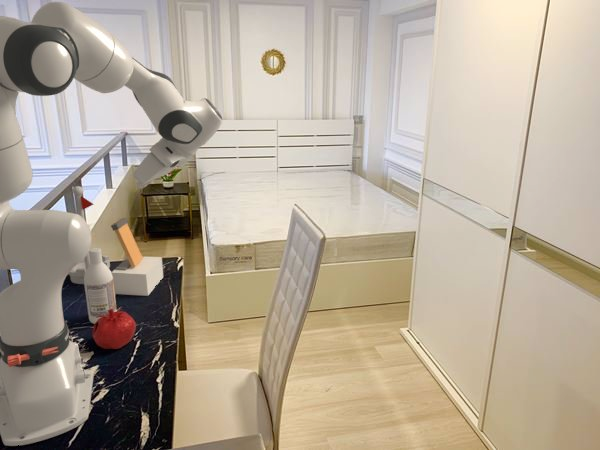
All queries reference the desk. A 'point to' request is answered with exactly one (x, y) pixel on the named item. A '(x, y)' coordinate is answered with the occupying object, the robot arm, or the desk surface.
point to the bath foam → (98, 287)
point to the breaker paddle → (127, 241)
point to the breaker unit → (138, 276)
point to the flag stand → (80, 269)
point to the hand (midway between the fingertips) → (140, 186)
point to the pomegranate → (114, 329)
